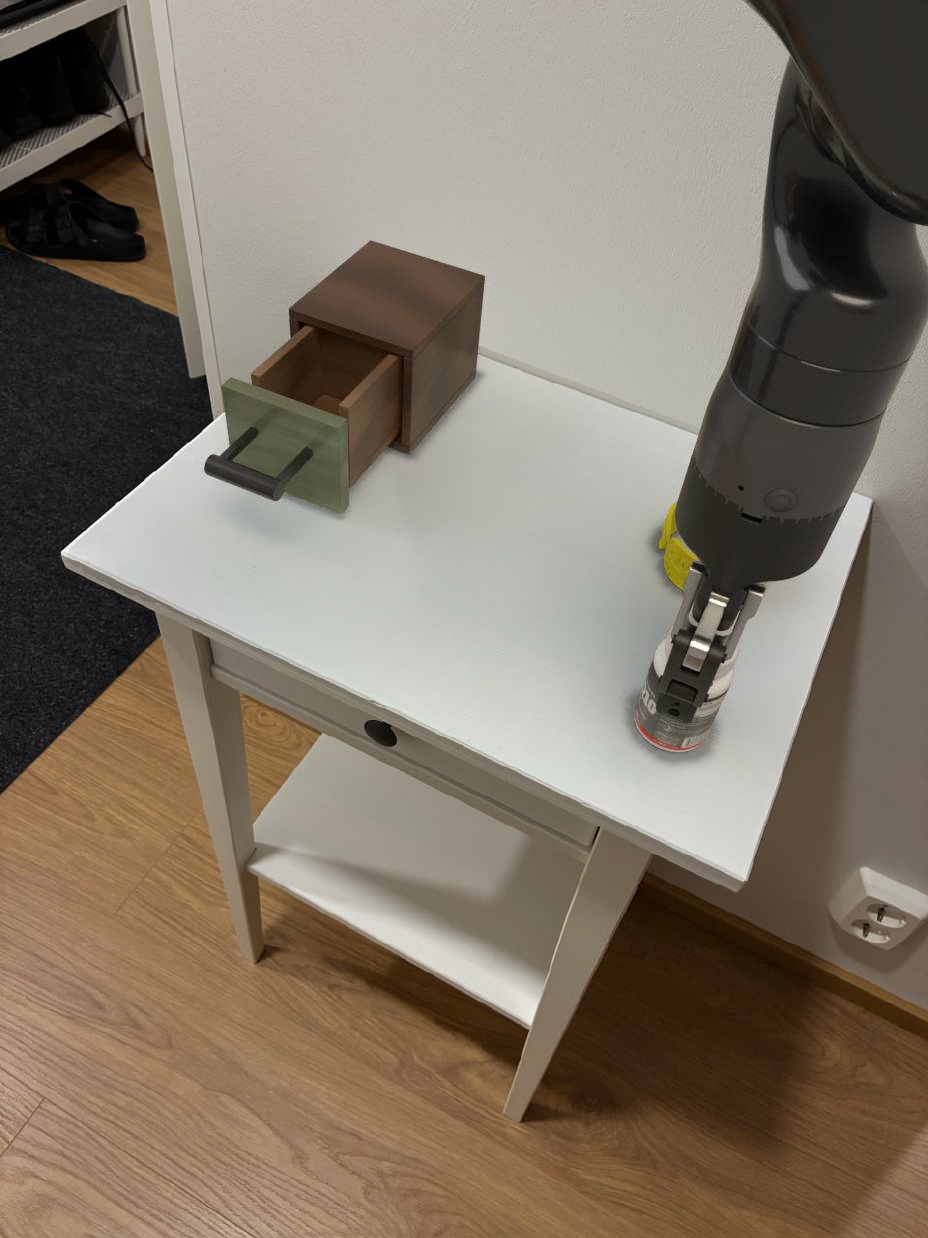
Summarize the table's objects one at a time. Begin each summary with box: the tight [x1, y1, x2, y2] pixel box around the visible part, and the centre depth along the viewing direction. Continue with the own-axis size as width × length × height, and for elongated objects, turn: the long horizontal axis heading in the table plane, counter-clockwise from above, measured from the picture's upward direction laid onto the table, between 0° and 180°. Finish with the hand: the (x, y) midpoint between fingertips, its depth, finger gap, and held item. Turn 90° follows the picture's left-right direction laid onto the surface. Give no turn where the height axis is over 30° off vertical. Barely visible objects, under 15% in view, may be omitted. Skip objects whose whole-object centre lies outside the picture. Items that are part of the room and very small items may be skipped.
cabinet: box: [288, 240, 486, 455], centre depth 79 cm, size 13×11×10 cm
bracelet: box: [658, 500, 699, 591], centre depth 70 cm, size 7×8×3 cm
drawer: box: [203, 324, 404, 515], centre depth 71 cm, size 17×9×8 cm, turn 154°
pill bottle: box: [634, 614, 741, 753], centre depth 58 cm, size 5×5×8 cm
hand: (686, 681), depth 58 cm, fingers closed on pill bottle, 4 cm apart
